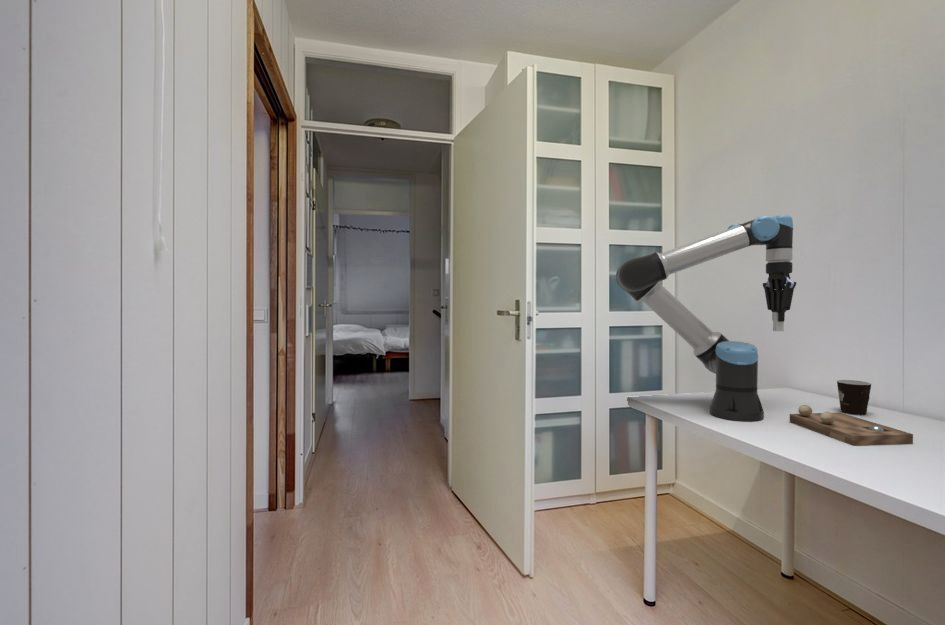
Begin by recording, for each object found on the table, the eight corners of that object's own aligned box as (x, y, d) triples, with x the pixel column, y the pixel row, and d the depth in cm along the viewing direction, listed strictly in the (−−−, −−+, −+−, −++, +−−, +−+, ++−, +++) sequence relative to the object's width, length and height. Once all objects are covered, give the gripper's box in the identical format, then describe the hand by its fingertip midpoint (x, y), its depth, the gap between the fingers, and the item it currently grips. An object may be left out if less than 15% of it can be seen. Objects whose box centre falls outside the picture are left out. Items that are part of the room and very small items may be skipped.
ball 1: (804, 417, 133) (804, 406, 133) (795, 414, 137) (795, 403, 137) (815, 417, 134) (815, 406, 134) (806, 414, 137) (806, 403, 137)
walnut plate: (853, 445, 116) (854, 436, 116) (789, 422, 138) (789, 413, 138) (912, 443, 117) (913, 434, 117) (839, 420, 139) (839, 412, 139)
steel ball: (869, 440, 122) (878, 434, 119) (862, 429, 124) (870, 423, 122) (881, 440, 122) (891, 434, 120) (873, 428, 124) (882, 422, 122)
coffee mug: (836, 408, 154) (837, 378, 153) (870, 411, 148) (870, 381, 148) (836, 415, 145) (836, 384, 144) (872, 419, 139) (872, 387, 139)
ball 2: (826, 425, 126) (826, 413, 125) (816, 422, 129) (817, 410, 129) (838, 425, 126) (838, 413, 126) (828, 421, 129) (828, 410, 129)
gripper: (804, 260, 148) (803, 332, 148) (775, 263, 161) (775, 329, 161) (782, 260, 147) (781, 332, 148) (755, 263, 160) (754, 329, 161)
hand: (778, 331), depth 155 cm, fingers closed
